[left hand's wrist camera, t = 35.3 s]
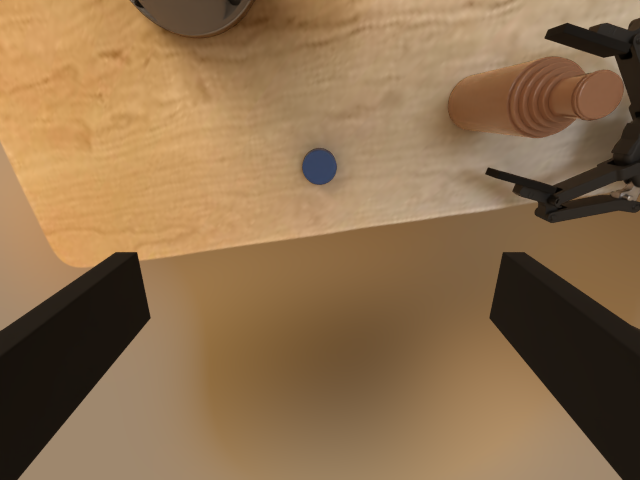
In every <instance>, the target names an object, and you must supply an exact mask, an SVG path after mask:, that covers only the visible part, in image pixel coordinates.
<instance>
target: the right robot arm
mask: <svg viewBox="0 0 640 480" xmlns="http://www.w3.org/2000/svg"><path fill="white" fill-rule="evenodd" d="M545 39H548V40H551V41H554V42H557V43H560V44H563V45H566V46H569V47H572V48H575V49H579V50H582V51H585V52H588V53H591V54H594V55H597V56H600V57H603V58H605V57H610V56H615V58H616V61H617V64H618V67H619V70H620V73H621V76H622V78H623V81H624V84H625V87H626V90H627V93H628V96H629V99H630V102H631V105H630V106H629V111H630V113H631V116H632V119H633V121H632V122H631V123H627V125H626V127H625V128H624V130H623V133H622V137H621V139H620V140H619V141H618V143H617V144H616V145H615V146H614V148H613V150H612V153H614V154H613V158H612V159H610V160H607V161H605V162H603V163H600V164H598V165H597V167H596V168H593V169H591V170H589V171H586V172H584V173H582V174H579V175H577V176H575V177H572V178H570V179H567V180H565V181H563V182H560V183H558V184H556V185H553V186H551V185H548V184H545V183H542V182H538V181H535V180H531V179H527V178H524V177H520V176H517V175H513V174H510V173H506V172H502V171H499V170H495V169H492V168H488V169H487V171H486V175H489V176H492V177H494V178H497V179H501V180H504V181H508V182H511V183H515V186H514V189H513V192H514V193H515V194H517V195H519V196H521V197H524V198H528V199H532V200H535V201H537V202H538V208H537V209H536V210H535V215H536V216H538V217H540V218H542V219H544V220H546V221H548V222H550V223H555V222H560V221H565V220H570V219H576V218H581V217H586V216H592V215H597V214H602V213H608V212H613V211H618V210H619V211H626V212H632V213H635V212H638V211H639V210H640V202H637V201H636V200H637V198H638V196H639V194H640V18H638V19H635V20H633V21H632V22H631V23H630V24H629V28H628V30H627V29H624V28H621V27H618V26H615V25H612V24H609V23H604V24H599V25H596V26H593V27H590V28H589V30H587V29H584V28H581V27H578V26H575V25H572V24H569V23H566V24H563V25H560V26H557V27H555V28H552V29H549V30H548V31H547V33H546V36H545ZM622 180H623V181H624V182H625V183H626V184H627V185H626V187H625V188H624V189H621V190H617V191H612V192H611V193H610V195H598V196H593V197H587V198H582V199H577V200H572V199H574V198H577V197H579V196H581V195H584V194H586V193H589V192H591V191H594V190H596V189H598V188H601V187H603V186H606V185H608V184H610V183H613V182H615V181H622ZM569 200H572V201H569Z"/></svg>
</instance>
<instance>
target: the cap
mask: <svg viewBox="0 0 640 480" xmlns="http://www.w3.org/2000/svg"><path fill="white" fill-rule="evenodd" d="M302 169H303V173H304V176H305V177H306V178H307V180H309V181H310V182H311V183H314V184H318V185H322V184H326V183H328V182H329V181H331V180H332V179H333V177H334V176H335V174H336V170H337V165H336V161H335V158H334V156H333V155H332V153H331V152H329V151H328V150H326V149H323V148H316V149H313V150H311V151H310V152H309V153H308V154H307V155H306V156H305V158H304V161H303V166H302Z"/></svg>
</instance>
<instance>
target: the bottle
mask: <svg viewBox="0 0 640 480" xmlns="http://www.w3.org/2000/svg"><path fill="white" fill-rule="evenodd" d="M623 91H624V86H623V82H622V79H621V78H620V77H619V76H618V75H617V74H616V73H614V72H612V71H610V70H599V71H595V72H593V73H588V74H585V73H584V71H583V70H582V69H581V68H580V67H579V65H577V64H576V63H575V62H573V61H571V60H568V59H564V58H561V57H546V58H542V59H537V60H533V61H529V62H525V63H521V64H517V65H513V66H509V67H504V68H500V69H496V70H492V71H488V72H484V73H480V74H475V75H472V76H469V77H466V78H465V79H463V80H462V81H460V82H459V83H458V84H457V85H456V86H455V88H454V89H453V91H452V93H451V95H450V98H449V103H448V110H449V115H450V118H451V119H452V121H453V122H454V123H455V124H456V125H457V126H458V127H460V128H462V129H465V130H472V131H480V132H488V133H497V134H505V135H513V136H521V137H530V138H542V137H546V136H549V135H553V134H555V133H558V132H560V131H562V130H563V129H565V128H566V127H568V126H569V125H570V124H571V123H572V122H573V121H575V120H576V119H582V120H596V119H599V118H602V117H604V116H606V115H608V114H610V113H611V112H612V111H613V110H614V109H615V108H616V107H617V106H618V104H619V103H620V101H621V99H622V96H623Z"/></svg>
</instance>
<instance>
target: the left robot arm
mask: <svg viewBox="0 0 640 480" xmlns="http://www.w3.org/2000/svg"><path fill="white" fill-rule="evenodd" d="M130 1H131V2H132V3H133V4H134V5H135V7H136V8H137V9H138V10H139V11H140V12H141V13H143V14H144V15H145V16H146V17H147V18H148V19H150V20H151V21H153V22H154V23H156V24H157V25H159V26H161V27H163V28H164V29H166V30H168V31H171V32H173V33H175V34H178V35H182V36H186V37H192V38H204V37H211V36H215V35H218V34H221V33H223V32H225V31H227V30H228V29H230V28H232V27H233V26H234V25H236V24H237V23H238V22H239V21H240V20H241V19H242V18H243V17H244V16H245V15H246V13H247V12H248V11H249V9H250V8H251V6H252V4H253V2H254V0H130ZM149 319H150V313H149V308H148V303H147V298H146V293H145V289H144V284H143V279H142V274H141V269H140V264H139V259H138V254H137V252H115V253H114V254H113V255H111V256H110V257H108V258H107V259H105V260H104V261H102V262H101V263H99V264H98V265H96V266H95V267H94V268H92V269H91V270H89V271H88V272H86V273H85V274H83V275H82V276H80V277H79V278H78V279H76V280H75V281H73V282H72V283H70V284H69V285H67V286H66V287H64V288H63V289H61V290H60V291H59V292H57V293H56V294H54V295H53V296H51V297H50V298H48V299H47V300H45V301H44V302H42V303H41V304H40V305H38V306H37V307H35V308H34V309H32V310H31V311H29V312H28V313H26V314H25V315H24V316H22V317H21V318H19V319H18V320H16V321H15V322H13V323H12V324H10V325H9V326H7V327H6V328H4V329H3V330H1V331H0V480H18V478H19V477H20V476H21V475H22V473H23V472H24V471H25V470H26V469H27V467H28V466H29V465H30V464H31V463H32V461H33V460H34V459H35V458H36V456H37V455H38V454H39V453H40V452H41V450H42V449H43V448H44V447H45V446H46V444H47V443H48V442H49V441H50V439H51V438H52V437H53V436H54V435H55V433H56V432H57V431H58V430H59V429H60V427H61V426H62V425H63V424H64V423H65V421H66V420H67V419H68V418H69V416H70V415H71V414H72V413H73V412H74V410H75V409H76V408H77V407H78V406H79V404H80V403H81V402H82V401H83V399H84V398H85V397H86V396H87V395H88V393H89V392H90V391H91V390H92V389H93V387H94V386H95V385H96V384H97V382H98V381H99V380H100V379H101V378H102V376H103V375H104V374H105V373H106V372H107V370H108V369H109V368H110V367H111V365H112V364H113V363H114V362H115V361H116V359H117V358H118V357H119V356H120V355H121V353H122V352H123V351H124V350H125V348H126V347H127V346H128V345H129V344H130V342H131V341H132V340H133V339H134V338H135V336H136V335H137V334H138V333H139V331H140V330H141V329H142V328H143V327H144V325H145V324H146V323H147V322H148V321H149ZM490 319H491V321H492V322H493V323H494V324H495V325H496V327H497V328H498V329H499V330H500V331H501V333H502V334H503V335H504V336H505V338H506V339H507V340H508V341H509V342H510V344H511V345H512V346H513V347H514V348H515V350H516V351H517V352H518V353H519V355H520V356H521V357H522V358H523V359H524V361H525V362H526V363H527V364H528V365H529V367H530V368H531V369H532V370H533V372H534V373H535V374H536V375H537V376H538V378H539V379H540V380H541V381H542V382H543V384H544V385H545V386H546V387H547V389H548V390H549V391H550V392H551V393H552V395H553V396H554V397H555V398H556V399H557V401H558V402H559V403H560V404H561V406H562V407H563V408H564V409H565V410H566V411H567V413H568V414H569V415H570V416H571V418H572V419H573V420H574V421H575V422H576V424H577V425H578V426H579V427H580V429H581V430H582V431H583V432H584V433H585V435H586V436H587V437H588V438H589V440H590V441H591V442H592V443H593V444H594V446H595V447H596V448H597V449H598V450H599V452H600V453H601V454H602V455H603V457H604V458H605V459H606V460H607V461H608V463H609V464H610V465H611V466H612V467H613V469H614V470H615V471H616V472H617V473H618V475H619V476H620V477H621V478H622V480H640V329H638V328H636V327H634V326H631V325H630V324H628V323H627V322H625V321H624V320H622V319H621V318H619V317H618V316H617V315H615V314H614V313H612V312H611V311H609V310H608V309H606V308H605V307H603V306H602V305H600V304H599V303H598V302H596V301H594V300H593V299H592V298H590V297H589V296H587V295H586V294H584V293H583V292H581V291H580V290H579V289H577V288H576V287H574V286H573V285H571V284H570V283H568V282H567V281H565V280H564V279H562V278H561V277H560V276H558V275H557V274H555V273H554V272H552V271H551V270H549V269H548V268H546V267H545V266H544V265H542V264H541V263H539V262H538V261H536V260H535V259H533V258H532V257H530V256H529V255H527V254H526V253H525V252H503V254H502V259H501V264H500V269H499V274H498V279H497V284H496V288H495V293H494V298H493V303H492V308H491V313H490Z"/></svg>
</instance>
